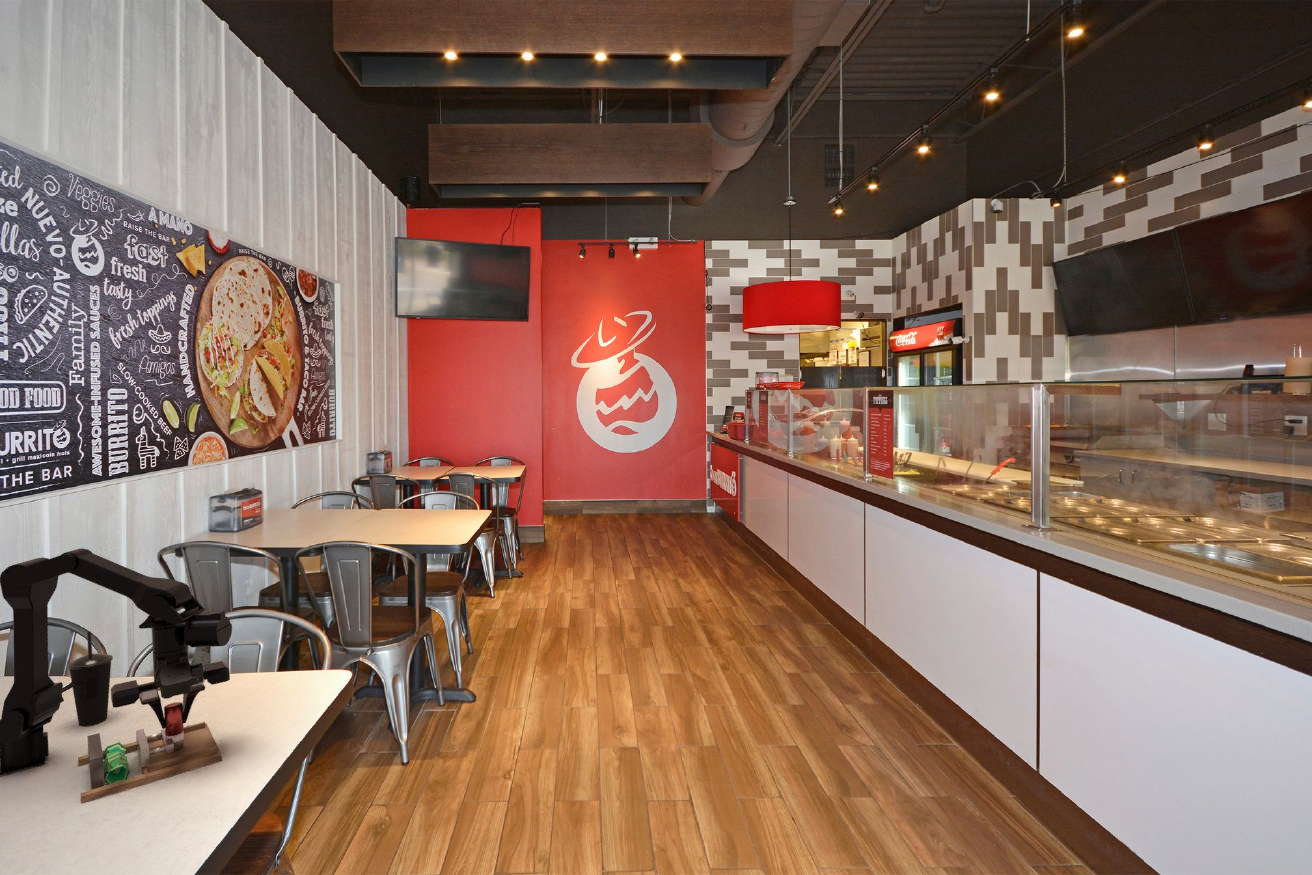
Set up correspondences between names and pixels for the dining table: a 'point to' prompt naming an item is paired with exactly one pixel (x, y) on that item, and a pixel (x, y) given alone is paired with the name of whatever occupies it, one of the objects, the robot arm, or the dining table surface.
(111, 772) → the candy
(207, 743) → the wooden vise
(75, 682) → the drinking cup
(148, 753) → the lever
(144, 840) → the dining table surface
